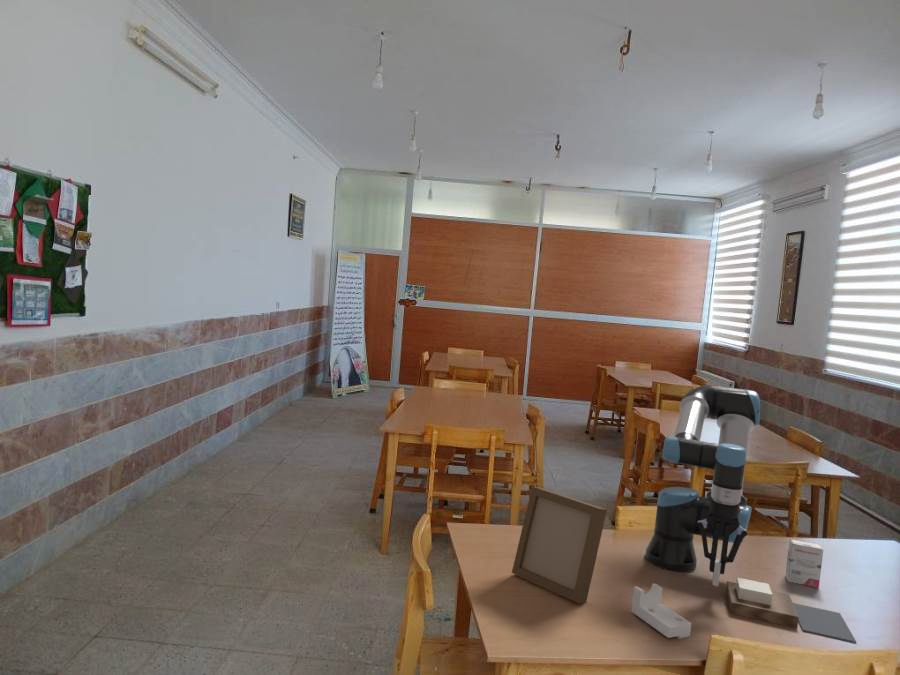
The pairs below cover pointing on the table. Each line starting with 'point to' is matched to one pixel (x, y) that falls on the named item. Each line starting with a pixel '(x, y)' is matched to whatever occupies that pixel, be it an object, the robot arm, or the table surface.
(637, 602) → the bracket
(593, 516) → the photo frame
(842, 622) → the mat
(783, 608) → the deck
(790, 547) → the ink box
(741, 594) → the cream rectangular block
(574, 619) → the table surface
